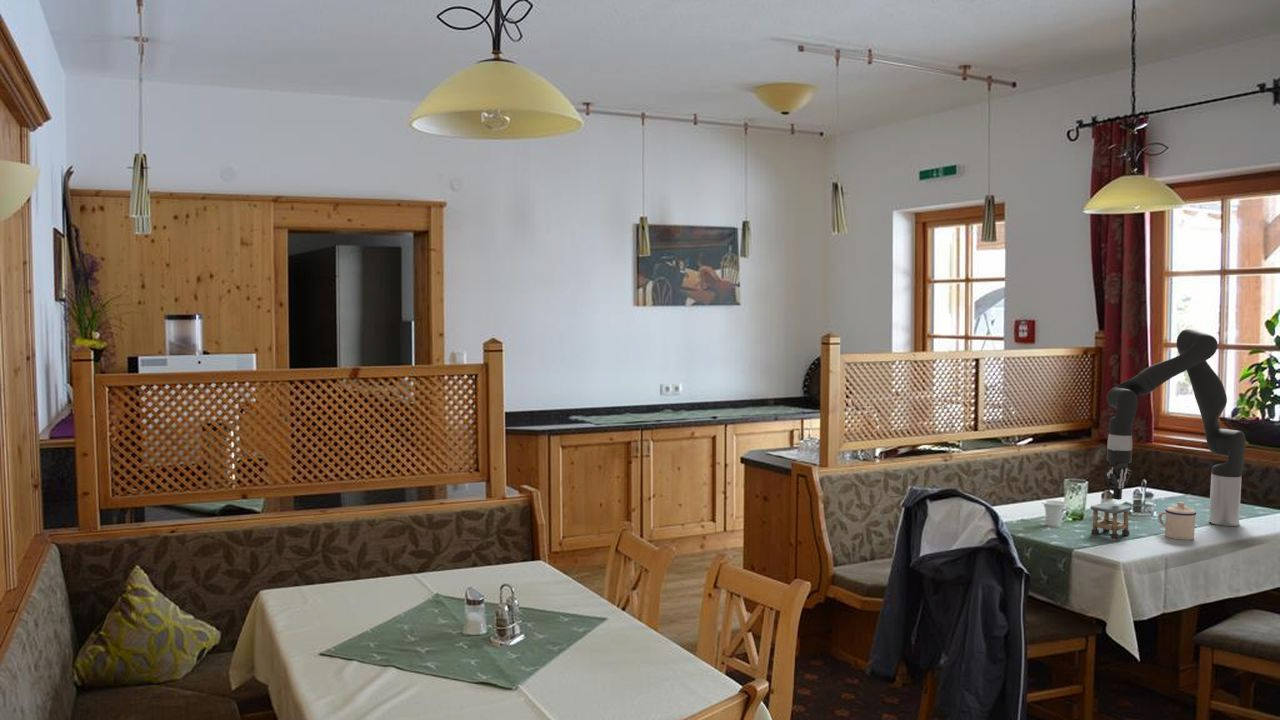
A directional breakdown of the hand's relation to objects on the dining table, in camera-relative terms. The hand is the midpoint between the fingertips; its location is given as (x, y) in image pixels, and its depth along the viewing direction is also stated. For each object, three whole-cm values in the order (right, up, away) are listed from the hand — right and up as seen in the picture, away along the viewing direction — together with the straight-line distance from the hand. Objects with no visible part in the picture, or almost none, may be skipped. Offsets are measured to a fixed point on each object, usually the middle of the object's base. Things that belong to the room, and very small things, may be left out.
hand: (1117, 499), depth 343 cm
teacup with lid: (+18, -12, -2) cm, 22 cm away
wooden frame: (+1, -6, +1) cm, 7 cm away
